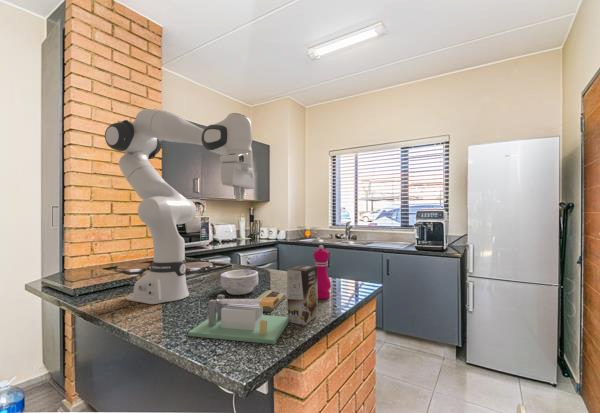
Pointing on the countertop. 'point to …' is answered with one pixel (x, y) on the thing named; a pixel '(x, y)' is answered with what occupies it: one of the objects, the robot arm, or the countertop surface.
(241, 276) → the paper bowls
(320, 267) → the pepper mill
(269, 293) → the computer
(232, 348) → the countertop surface
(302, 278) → the coffee box
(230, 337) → the heatsink board
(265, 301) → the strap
